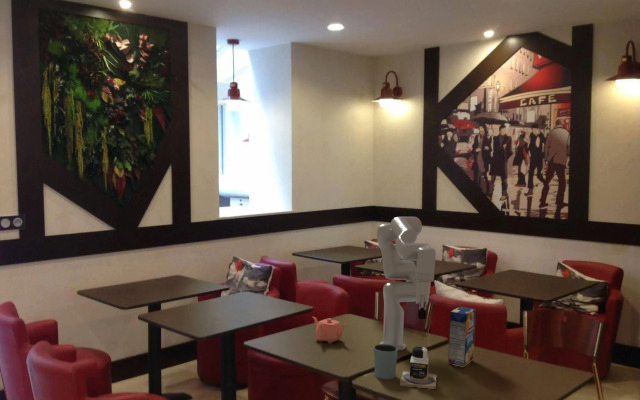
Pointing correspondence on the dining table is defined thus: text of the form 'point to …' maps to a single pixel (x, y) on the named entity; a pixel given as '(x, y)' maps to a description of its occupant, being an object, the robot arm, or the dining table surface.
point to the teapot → (328, 330)
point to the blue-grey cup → (385, 361)
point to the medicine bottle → (419, 364)
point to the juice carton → (461, 336)
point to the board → (418, 381)
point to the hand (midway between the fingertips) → (421, 318)
